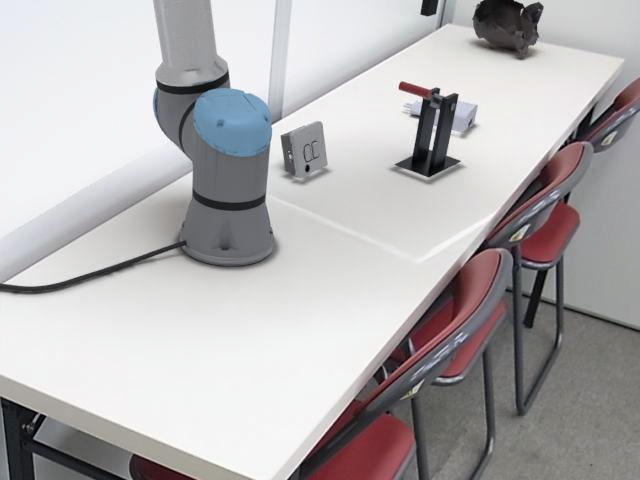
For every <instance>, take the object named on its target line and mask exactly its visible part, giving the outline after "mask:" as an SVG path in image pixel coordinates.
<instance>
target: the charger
mask: <svg viewBox="0 0 640 480" xmlns="http://www.w3.org/2000/svg"><path fill="white" fill-rule="evenodd" d="M421 106H422V101H418V100H416V101H414V102H413V103H408V102H406V103H405V104H404V105H403V106H402V107H403V108H406V109H409V113H410V114H411V115H413V116H417V117H420V112H421ZM478 107H479V105H478V104H476V103H470V102H466V101H462V100H458V101H457V106H456V111H455V116H454V120H453V125H452V130H451V131H454V132H459V133H464V132H465V131H466V130H467V129H468V128H472V127H473V126H474V124H475V122H476V117H477V116H476V115H477V111H478ZM439 113H440V110H436V115H435V120H434V126H433V127H437V123H438V118H439Z"/></svg>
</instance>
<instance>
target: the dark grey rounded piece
mask: <svg viewBox="0 0 640 480" xmlns="http://www.w3.org/2000/svg"><path fill="white" fill-rule="evenodd" d="M473 8H474V9H475V10H474V13H473V16H472V18H471V20H472V26H473V30H474V34H475V35H476V36H477V38H478V39H479V40H481V39H484V40H485V41H486V42H487V43H488V44H489V45H491V46H490V48H491V49H492V46H495V47H498V48H502V49H511V50H516V51H517V50H518V53H519V54H520V55H521V56H522V57H523V56H525V55H526V54H527V52H528V51H529V48H530V47H531V46H532V47H534V46H535V45H536V44H537V42H538V39H541V37H540V35H539V32H538V24H539V22H540V20H541V18H542V14H543V13H544V12H543V11H544V8H545V6H544V5H543V3H541V2H540V1H537V2H534V3H530V4H528V5H527V6H525V5H524V4H523V3H521V2H519V1H517V0H481V1H479V3H477V4H476V6H475V5H473Z"/></svg>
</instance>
